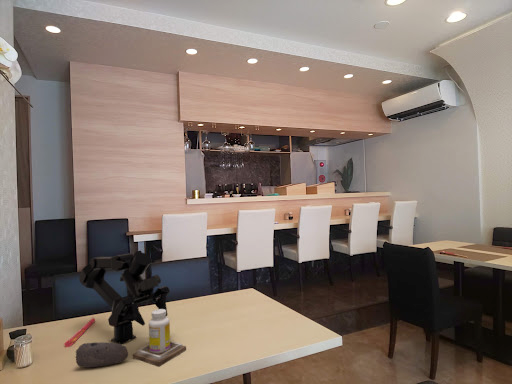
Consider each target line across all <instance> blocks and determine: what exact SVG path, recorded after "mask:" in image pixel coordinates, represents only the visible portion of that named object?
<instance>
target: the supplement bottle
mask: <svg viewBox="0 0 512 384" xmlns="http://www.w3.org/2000/svg"><path fill="white" fill-rule="evenodd" d="M170 327H171V325H170V318H169V317H168V316H166V310H165V309H158V308H157V309H154V310H152V311H151V319H150V320H149V321H148V337H149V338H148V340H149V344H148V345H150V352H151V353H154V354H160V353H164V352H166V351H168V350H169V349H170V341H171V329H170Z"/></svg>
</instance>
